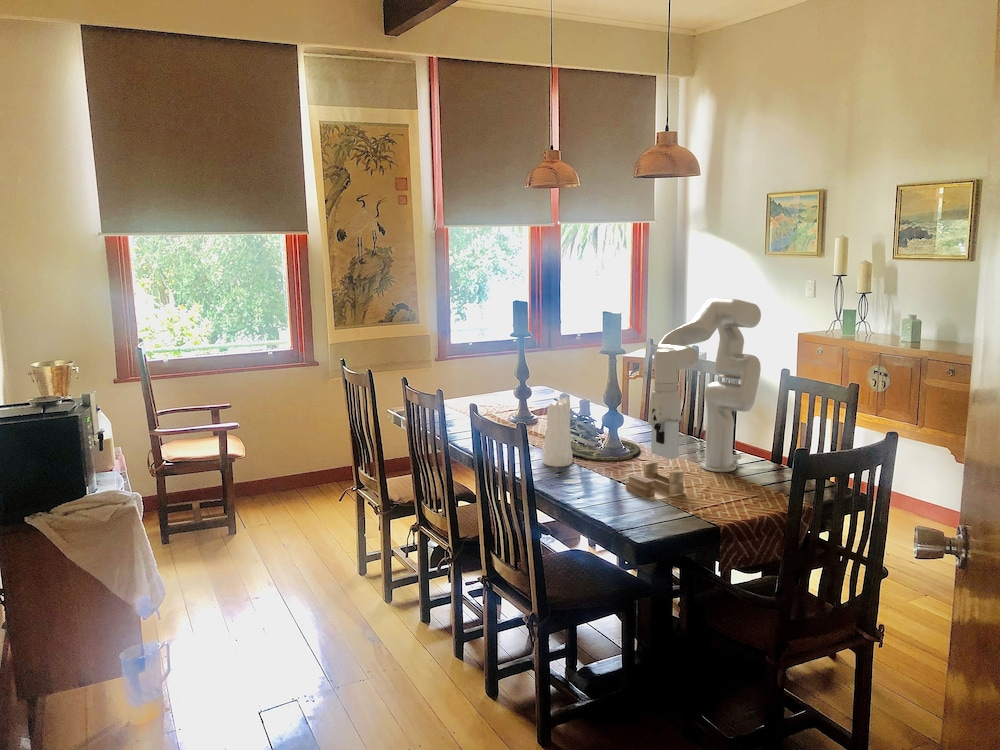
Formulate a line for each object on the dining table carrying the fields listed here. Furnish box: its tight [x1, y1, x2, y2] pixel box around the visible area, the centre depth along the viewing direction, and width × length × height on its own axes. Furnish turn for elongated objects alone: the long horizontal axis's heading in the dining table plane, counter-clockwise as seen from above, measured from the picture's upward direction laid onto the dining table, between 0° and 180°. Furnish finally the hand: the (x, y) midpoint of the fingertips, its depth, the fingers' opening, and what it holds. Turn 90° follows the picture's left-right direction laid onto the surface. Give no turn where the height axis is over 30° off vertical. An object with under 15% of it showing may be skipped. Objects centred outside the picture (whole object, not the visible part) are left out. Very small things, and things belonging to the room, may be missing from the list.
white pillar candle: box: [542, 396, 573, 468], centre depth 290 cm, size 11×11×25 cm
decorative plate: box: [571, 437, 641, 463], centre depth 307 cm, size 30×2×30 cm
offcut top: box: [628, 474, 654, 490], centre depth 252 cm, size 4×8×2 cm, turn 34°
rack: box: [620, 460, 688, 502], centre depth 255 cm, size 15×16×8 cm
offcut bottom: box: [625, 481, 655, 499], centre depth 253 cm, size 4×10×2 cm, turn 30°
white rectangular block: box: [650, 420, 680, 460], centre depth 255 cm, size 4×9×12 cm, turn 30°
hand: (664, 441), depth 255 cm, fingers closed on white rectangular block, 3 cm apart
